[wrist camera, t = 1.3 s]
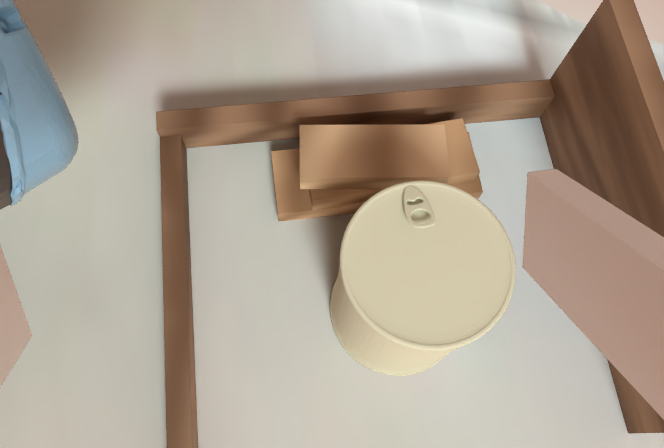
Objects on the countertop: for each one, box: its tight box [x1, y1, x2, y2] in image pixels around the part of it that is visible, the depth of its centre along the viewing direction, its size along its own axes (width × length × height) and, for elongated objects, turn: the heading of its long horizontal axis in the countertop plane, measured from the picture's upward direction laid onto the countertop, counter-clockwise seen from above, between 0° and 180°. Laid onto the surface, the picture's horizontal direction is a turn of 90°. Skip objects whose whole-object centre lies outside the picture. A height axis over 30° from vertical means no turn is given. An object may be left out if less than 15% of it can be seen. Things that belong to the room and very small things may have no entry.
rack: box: [156, 0, 664, 448], centre depth 36 cm, size 31×26×12 cm
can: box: [330, 181, 515, 376], centre depth 35 cm, size 9×9×12 cm
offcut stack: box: [271, 118, 483, 221], centre depth 42 cm, size 15×5×5 cm, turn 97°
